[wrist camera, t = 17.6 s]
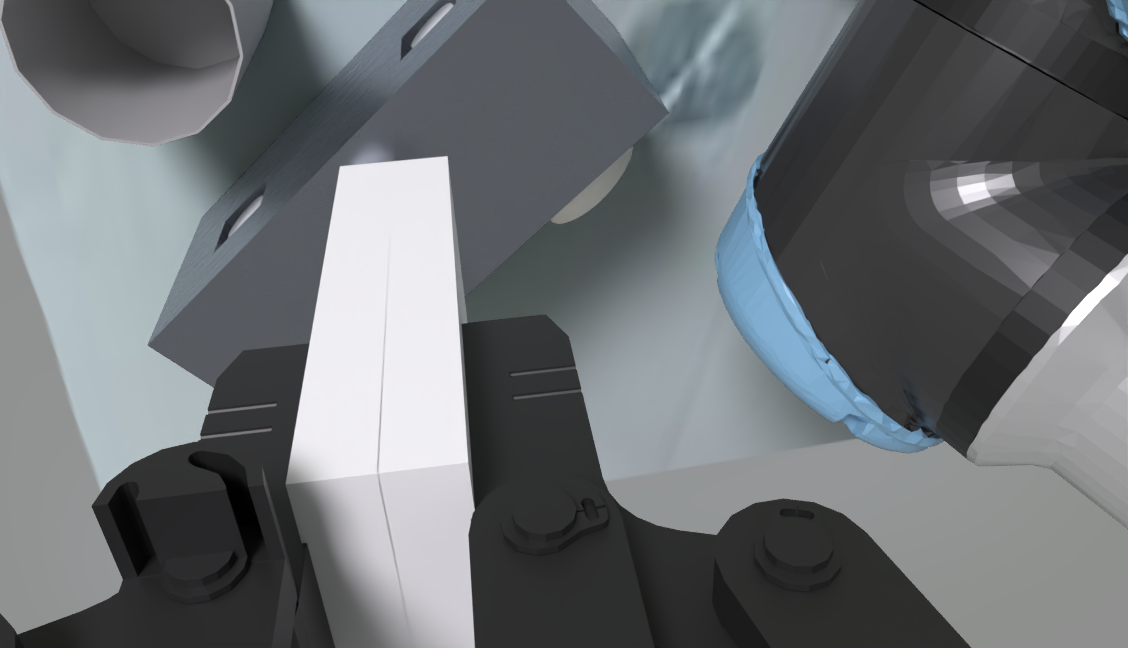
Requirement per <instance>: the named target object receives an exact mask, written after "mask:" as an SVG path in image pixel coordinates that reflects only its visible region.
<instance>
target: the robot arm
mask: <svg viewBox="0 0 1128 648" xmlns="http://www.w3.org/2000/svg"><path fill="white" fill-rule="evenodd" d="M715 263H716V269H717V274H718V278H717V283H718V288H719V292H720V294H721V297H722V299H723V302H724V305H725V307H726V309H727V311H728V313H729V315H730V317H731V319H732V320H733V322H734V324H735V326H736V327H737V329H738V330H739V332H740V334H741V335H742V336H743V338H744V339H745V341H746V342H747V343H748V345H749V346H750V347H751V348H752V350H753V351H754V352H755V354H756V355H757V356H758V357H759V358H760V360H761V361H762V362H763V363H764V364H765V365H766V366H767V367H768V369H769V370H770V371H771V372H772V373H773V374H774V375H775V376H776V377H777V378H778V379H779V380H780V381H781V382H782V383H783V384H784V385H785V386H786V387H787V388H788V389H789V390H790V391H791V392H792V393H794V394H795V395H796V396H797V397H798V398H799V399H800V400H802V401H803V402H804V403H805V404H806V405H808V406H809V407H810V408H812V409H813V410H814V411H816V412H817V413H818V414H820V415H821V416H822V417H824V418H825V419H827V420H828V421H830V422H833V423H834V422H839V421H842V422H843V423H844V424H845V425H846V426H847V427H848V429H849V430H850V431H851V432H852V434H853V435H854V436H855V437H856V438H858V439H860V440H862V441H864V442H867V443H868V444H871V445H873V446H876V447H879V448H882V449H885V450H889V451H896V452H902V453H913V452H919V451H922V450H924V449H926V448H928V447H930V446H935V445H938V444H940V443H942V442H943V441H946V442H947V443H948V444H949V445H951V446H952V447H953V448H955V450H957V451H958V452H959V453H961V454H962V455H963V456H964V457H965V458H967V459H968V460H969V461H971V462H972V463H974V464H975V465H977V466H1002V465H1003V466H1004V465H1005V466H1006V465H1035V466H1040V467H1044V468H1049V469H1052V470H1053V471H1054V472H1056V473H1057V474H1058V475H1060V476H1061V477H1062V478H1063V479H1065V480H1066V481H1067V482H1069V483H1070V484H1071V485H1072V486H1074V487H1075V488H1076V489H1077V490H1079V491H1080V492H1081V493H1083V494H1084V495H1085V496H1086V497H1088V498H1089V499H1090V500H1091V501H1093V502H1094V503H1095V504H1096V505H1098V506H1099V507H1100V508H1102V509H1103V510H1104V511H1105V512H1107V513H1108V514H1109V515H1110V516H1112V517H1113V518H1114V519H1116V520H1117V521H1118V522H1120V523H1121V524H1122V525H1123V526H1124V527H1126V528H1127V529H1128V0H860V1H859V2H858V4H857V5H856V7H855V9H854V10H853V12H852V14H851V15H850V17H849V18H848V20H847V22H846V23H845V25H844V26H843V28H842V30H841V31H840V33H839V34H838V36H837V38H836V39H835V41H834V42H833V44H832V46H831V47H830V49H829V51H828V52H827V54H826V55H825V57H824V59H823V60H822V62H821V63H820V65H819V67H818V68H817V70H816V71H815V73H814V75H813V76H812V78H811V80H810V81H809V83H808V84H807V86H806V88H805V89H804V91H803V92H802V94H801V96H800V97H799V99H798V100H797V102H796V104H795V105H794V107H793V108H792V110H791V112H790V113H789V115H788V117H787V118H786V120H785V121H784V123H783V125H782V126H781V128H780V129H779V131H778V133H777V134H776V136H775V137H774V139H773V141H772V142H771V144H770V146H769V147H768V149H767V150H766V152H765V153H763V154H762V155H760V156H758V157H757V159H756V160H755V162H754V164H753V165H752V167H751V169H750V171H749V174H748V177H747V184H746V189H745V190H744V192H743V194H742V196H741V198H740V200H739V201H738V203H737V205H736V207H735V209H734V210H733V212H732V214H731V216H730V218H729V220H728V221H727V223H726V225H725V227H724V229H723V231H722V233H721V235H720V237H719V240H718V243H717V247H716V253H715ZM200 435H201V440H199V441H198V442H192V443H188V444H184V445H179V446H175V447H171V448H166V449H162V450H160V451H158V452H156V453H154V454H152V455H150V456H147V457H145V458H143V459H141V460H139V461H137V462H135V463H133V464H131V465H130V466H128V467H127V468H126V469H125V470H123V471H122V472H121V473H120V474H118V475H117V476H116V477H115V478H113V479H112V480H111V481H109V482H108V483H107V484H106V486H105V487H104V489H103V490H102V492H101V493H100V494H99V496H98V497H97V499H96V501H95V502H94V503H93V505H92V508H93V511H94V513H95V515H96V518H97V520H98V522H99V525H100V527H101V529H102V531H103V534H104V536H105V539H106V541H107V543H108V546H109V548H110V550H111V553H112V555H113V557H114V560H115V562H116V564H117V567H118V569H119V571H120V573H121V576H122V578H123V581H122V585H121V587H120V590H119V592H118V593H117V594H115V595H114V596H112V597H111V598H109V599H107V600H105V601H103V602H101V603H98V604H96V605H94V606H92V607H90V608H87V609H85V610H83V611H81V612H78V613H75V614H72V615H70V616H67V617H64V618H61V619H59V620H56V621H53V622H51V623H48V624H45V625H43V626H40V627H37V628H35V629H32V630H29V631H26V632H23V633H21V634H18V635H17V633H16V631H15V630H14V628H13V627H12V626H11V625H10V624H9V623H8V621H7V620H6V619H5V618H4V617H3V616H2V615H1V614H0V648H971V647H970V646H969V645H968V644H967V643H966V642H965V641H964V639H963V638H962V637H961V636H960V635H959V634H958V633H957V632H956V631H955V630H954V628H953V627H952V626H951V625H950V624H949V623H948V622H947V621H946V620H945V618H944V617H943V616H942V615H941V614H940V613H939V612H938V611H937V610H936V609H935V608H934V606H933V605H932V604H931V603H930V602H929V601H928V600H927V599H926V598H925V596H924V595H923V594H922V593H921V592H920V591H919V590H918V589H917V588H916V587H915V586H914V584H913V583H912V582H911V581H910V580H909V579H908V578H907V577H906V576H905V575H904V573H903V572H902V571H901V570H900V569H899V568H898V567H897V566H896V565H895V564H894V563H893V561H892V560H891V559H890V558H889V557H888V556H887V555H886V554H885V553H884V552H883V551H882V549H881V548H880V547H879V546H878V545H877V544H876V543H875V542H874V540H873V539H872V538H871V537H870V536H869V535H868V534H867V533H866V532H865V531H864V530H863V529H861V528H860V527H859V526H857V525H856V524H855V523H854V522H852V521H851V520H850V519H849V518H847V517H846V516H845V515H844V514H842V513H839V512H837V511H834V510H832V509H829V508H827V507H824V506H821V505H819V504H817V503H814V502H806V501H798V500H790V499H778V500H772V501H766V502H759V503H755V504H752V505H750V506H749V507H747V508H745V509H743V510H741V511H739V512H737V513H735V514H733V515H732V516H731V517H730V518H729V520H728V521H727V522H726V523H725V525H724V526H723V527H722V529H721V530H720V532H719V533H718V534H717V535H711V534H704V533H696V532H688V531H680V530H675V529H670V528H665V527H661V526H657V525H654V524H652V523H650V522H647V521H645V520H643V519H640V518H638V517H636V516H635V515H633V514H632V513H630V512H629V511H627V510H626V509H625V508H623V507H622V506H620V505H619V504H618V502H617V501H616V500H615V499H614V498H613V496H612V495H611V494H610V493H609V491H608V489H607V487H606V485H605V482H604V480H603V477H602V473H601V469H600V465H599V460H598V456H597V452H596V448H595V444H594V440H593V436H592V431H591V427H590V423H589V419H588V415H587V411H586V407H585V402H584V398H583V394H582V393H581V386H580V382H579V378H578V374H577V370H576V367H575V361H574V357H573V353H572V349H571V345H570V340H569V337H568V336H567V335H566V334H565V333H564V332H563V331H562V330H561V329H560V328H559V327H558V326H557V325H556V324H555V323H554V322H553V321H552V320H551V319H550V318H548V317H547V316H546V315H537V316H528V317H519V318H509V319H500V320H491V321H482V322H473V323H468V322H467V313H466V305H465V296H464V288H463V280H462V271H461V263H460V255H459V247H458V238H457V230H456V222H455V214H454V205H453V197H452V189H451V181H450V172H449V164H448V156H444V157H433V158H423V159H412V160H401V161H391V162H380V163H369V164H359V165H348V166H340V169H339V175H338V181H337V187H336V192H335V198H334V204H333V210H332V216H331V222H330V227H329V233H328V239H327V245H326V251H325V257H324V263H323V268H322V274H321V280H320V286H319V292H318V298H317V304H316V309H315V315H314V321H313V327H312V333H311V339H310V343H307V344H298V345H289V346H280V347H270V348H261V349H252V350H243V351H242V352H241V353H240V354H239V355H238V357H237V358H236V359H235V360H234V361H233V362H232V363H231V364H230V365H229V366H228V367H227V368H226V369H225V371H224V372H223V373H222V374H221V375H220V376H219V377H218V378H217V380H216V383H215V387H214V390H213V393H212V397H211V400H210V403H209V407H208V415H206V417H205V420H204V423H203V427H202V430H201V433H200Z"/></svg>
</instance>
